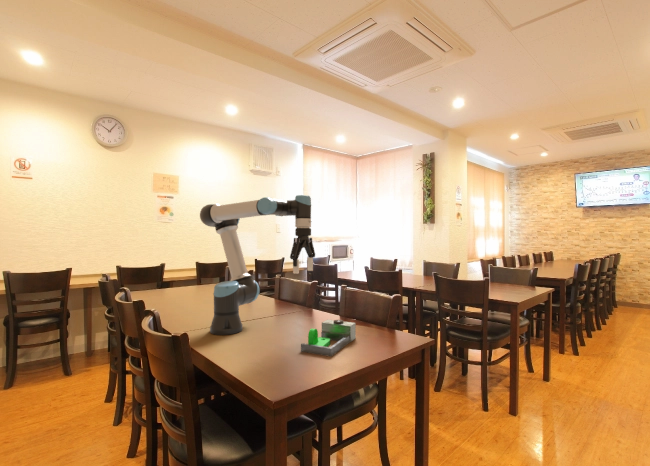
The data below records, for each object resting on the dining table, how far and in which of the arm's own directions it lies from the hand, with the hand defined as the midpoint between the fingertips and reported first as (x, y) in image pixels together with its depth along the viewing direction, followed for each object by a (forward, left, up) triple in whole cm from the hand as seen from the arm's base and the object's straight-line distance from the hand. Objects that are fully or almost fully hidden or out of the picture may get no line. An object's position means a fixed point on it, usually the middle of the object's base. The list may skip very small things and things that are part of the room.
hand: (303, 272), depth 163 cm
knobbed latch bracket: (+19, -11, -29) cm, 36 cm away
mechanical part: (+16, -14, -29) cm, 36 cm away
